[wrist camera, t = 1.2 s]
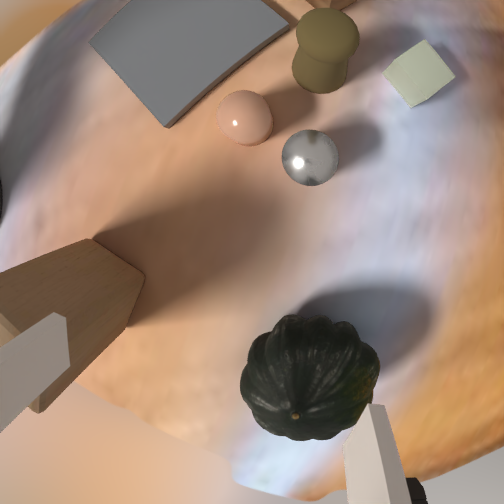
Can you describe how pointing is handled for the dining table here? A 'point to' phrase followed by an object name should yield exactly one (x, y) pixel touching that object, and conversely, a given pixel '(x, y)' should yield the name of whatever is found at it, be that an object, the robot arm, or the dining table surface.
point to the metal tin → (310, 157)
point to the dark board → (183, 47)
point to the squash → (309, 378)
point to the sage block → (418, 73)
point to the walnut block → (330, 3)
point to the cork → (324, 49)
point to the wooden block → (70, 303)
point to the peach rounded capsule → (245, 118)
